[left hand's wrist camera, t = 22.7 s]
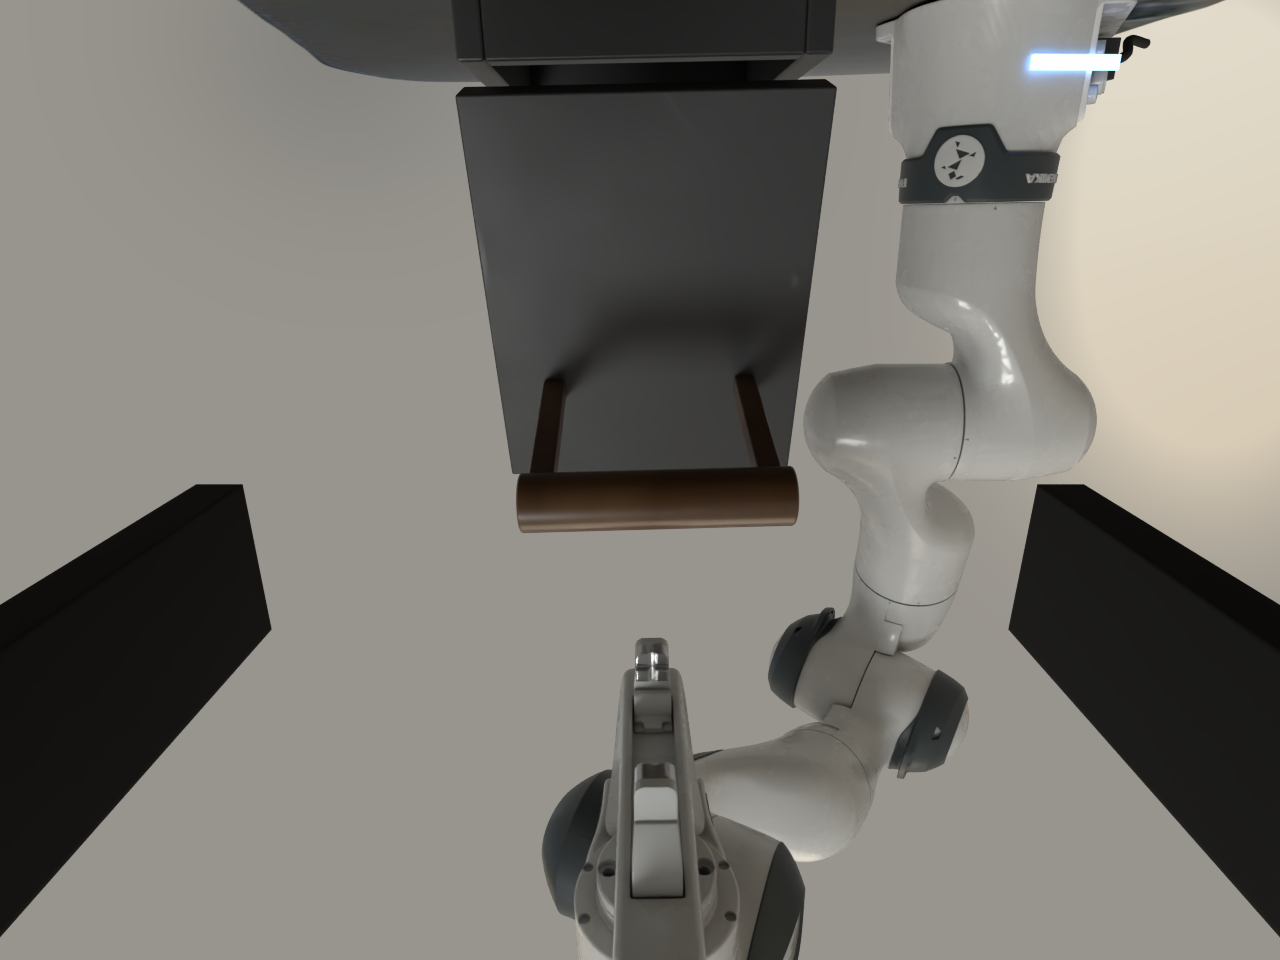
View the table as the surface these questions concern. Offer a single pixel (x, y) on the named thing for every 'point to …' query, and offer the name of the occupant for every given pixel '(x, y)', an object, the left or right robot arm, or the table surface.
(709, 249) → the lid
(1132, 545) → the left robot arm
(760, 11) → the chest
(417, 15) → the table surface
